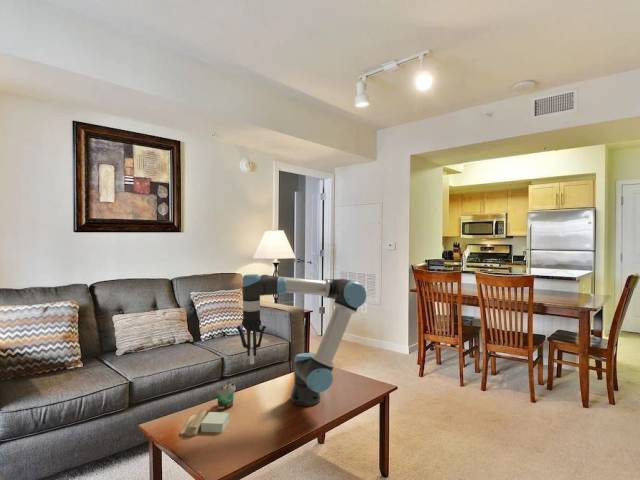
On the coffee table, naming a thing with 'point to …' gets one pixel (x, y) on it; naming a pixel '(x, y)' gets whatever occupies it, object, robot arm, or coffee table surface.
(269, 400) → the coffee table surface
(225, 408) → the food container
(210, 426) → the block
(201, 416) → the beige ridged bar
